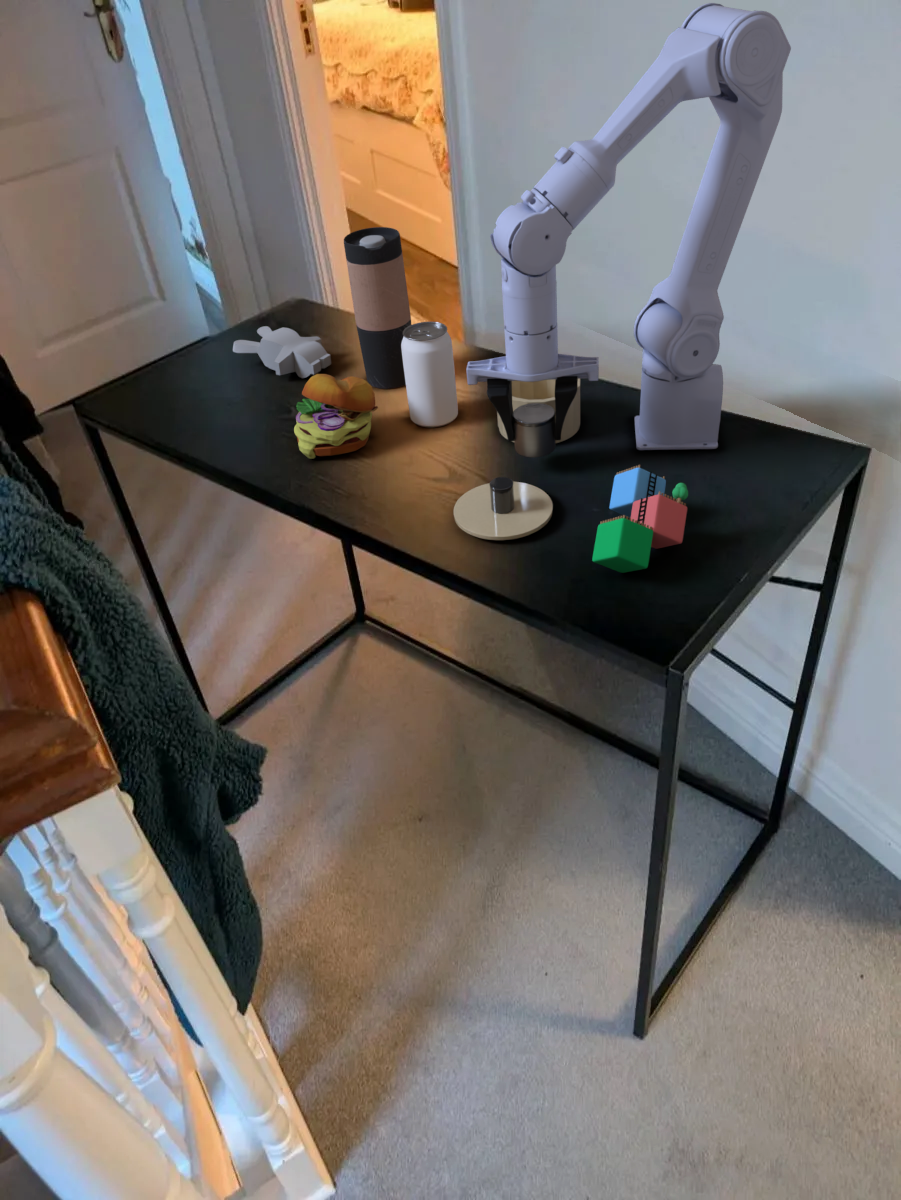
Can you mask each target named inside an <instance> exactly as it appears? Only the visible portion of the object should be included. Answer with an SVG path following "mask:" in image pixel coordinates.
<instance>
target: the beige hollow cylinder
mask: <svg viewBox="0 0 901 1200" xmlns="http://www.w3.org/2000/svg"><path fill="white" fill-rule="evenodd" d="M555 380H556V379H552V380H542V381H535V382H524V381H512V406H513V411H514V410H515V409H516V408H518V407H520V406H522V405H525V404H531V403H541V404H546V405H549V406H551V407H552V408H553V409H554V410H555ZM496 415H497V416H496V417H497V428H498V431H499V434H501V436H502V437H503V438H504V439H506V440H508V438H507V433H506V430H505V427H504V425H503V422H502V420H501V418H500V416H499V414H498V412H497V411H496ZM555 418H556V412H555ZM580 427H581V379H578V387H577V393H576V395H575V398H574V399H573V401H572V403H571V405H570V407H569V409H568V412H567V414H566V417H565V420H564V423H563V427H562V432H561V440H555V444H558V443H561V442H564V441H566V440H569V439H570V438H572V437H573V436H575V435H576V434H577V433H578V431H579V430H580ZM511 442H512V443H514V441H511Z"/></svg>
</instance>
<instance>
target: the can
mask: <svg viewBox="0 0 901 1200" xmlns="http://www.w3.org/2000/svg"><path fill="white" fill-rule="evenodd" d="M403 336H404V337H403V339H402V343H401V350H402V359H403V367H404V374H405V382H406V385H405V389H406V397H407V403H408V411H409V417H410V420H411V421H412V423H414V424H416V426H419V427H423V428H440V427H443V426H447V425H449V424H451V423H452V422H454V421H455V420H456V418H457V417H458V415H459V405H458V394H457V381H456V370H455V359H454V350H453V341H452V337H451V335H450V334H449V332H448V327H447V325H446V324H444V323H442V322H439V321H421V322H416V323H413V324H411V325H410V326H408V327H407V328H405V329H404V331H403Z"/></svg>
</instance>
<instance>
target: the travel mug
mask: <svg viewBox="0 0 901 1200" xmlns="http://www.w3.org/2000/svg"><path fill="white" fill-rule="evenodd" d="M343 247H344V253H345V259H346V267H347V274H348V280H349V288H350V293H351V299H352V300H351V301H352V307H353V312H354V313H353V314H354V319H355V320H354V321H355V325H356V331H357V336H358V341H359V346H360V352H361V356H362V361H363V362H362V363H363V366H364V372H365V376H366V377H365V378H366V381H367V382H368V383H369V384H370V385H371V386H372V388H373V387H374V388H376V389H380V390H381V389H383V390H388V389H389V390H390V389H397V388H401V387H404V386H406V382H405V374H404V367H403V359H402V350H401V343H402V339H403V337H404V336H403V331H404V329H405V328H407V327H408V326H410V325H412V315H411V309H410V300H409V293H408V286H407V279H406V278H407V277H406V269H405V264H404V263H405V262H404V254H403V248H402V240H401V234H400V231H399V230H398V229H396V228H393V227H387V226H376V227H375V226H373V227H366V228H361V229H357V230H354V231H352V232H350V233H349V234H347V235H346V236H345V237H344V238H343Z"/></svg>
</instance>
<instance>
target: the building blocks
mask: <svg viewBox="0 0 901 1200" xmlns="http://www.w3.org/2000/svg"><path fill="white" fill-rule="evenodd" d="M665 478H666V476H665V475H663V476H659V475H658V474H655V473H653V472H652V471H648V470H647V469H644V468H642V467H641V464H638V465H635V466H631V467H628V468H626V469H624V470H621V471H619V472H618V471H617V472H616V474H615V475H614V478H613V482H612V489H611V495H610V501H609V507H608V508H609V510H610V511H612V512H615V513H617V514H619V516H616V517H613V518H607V519H605V520H602V521H600V523H599V524H598V526H597V528H596V529H597V530H596V536H595V540H594V541H595V542H594V545H593V552H592V558H591V559H592V560H591V561H592V562H593V563H595V564H597V565H600V566H602V567H605V568H608V569H609V570H613V571H616V572H617V573H621V574H624V573H630V572H636V571H641V570H645V569H648V567H649V563H650V557H651V548H652V549H662V548H667V547H671V546H676V545H681V544H682V543H683V540H684V535H685V526H686V520H687V514H688V506H687V502H684V501H685V500H687V498H688V497H689V490H688V487H687V484H686V483H685V482H678V483H677V484H676V485H675V487H674V488H673V489H672V492H671V493H672V496H670V495H667V493H666V485H667V480H666V479H665Z"/></svg>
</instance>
